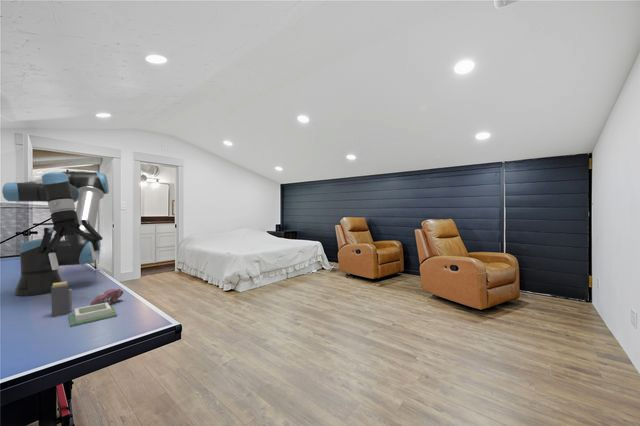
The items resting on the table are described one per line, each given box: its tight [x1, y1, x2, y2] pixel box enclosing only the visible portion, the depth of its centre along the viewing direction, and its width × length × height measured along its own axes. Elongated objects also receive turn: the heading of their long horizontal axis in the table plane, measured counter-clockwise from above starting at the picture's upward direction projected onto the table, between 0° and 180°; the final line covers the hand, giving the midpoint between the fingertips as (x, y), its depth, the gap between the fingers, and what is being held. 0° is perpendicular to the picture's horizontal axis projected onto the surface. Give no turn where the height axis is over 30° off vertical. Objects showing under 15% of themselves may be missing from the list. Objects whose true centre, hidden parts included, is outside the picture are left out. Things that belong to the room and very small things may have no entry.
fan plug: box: [50, 280, 73, 318], centre depth 98 cm, size 4×5×11 cm
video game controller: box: [89, 287, 124, 306], centre depth 107 cm, size 10×5×7 cm, turn 168°
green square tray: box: [68, 302, 118, 328], centre depth 96 cm, size 12×12×3 cm
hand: (76, 264), depth 108 cm, fingers open, 13 cm apart
